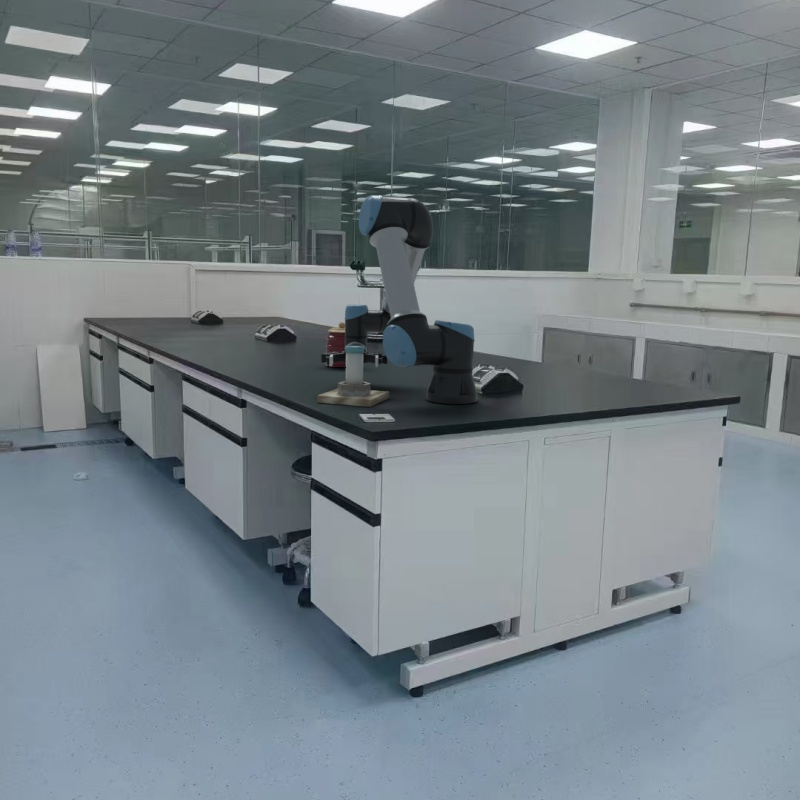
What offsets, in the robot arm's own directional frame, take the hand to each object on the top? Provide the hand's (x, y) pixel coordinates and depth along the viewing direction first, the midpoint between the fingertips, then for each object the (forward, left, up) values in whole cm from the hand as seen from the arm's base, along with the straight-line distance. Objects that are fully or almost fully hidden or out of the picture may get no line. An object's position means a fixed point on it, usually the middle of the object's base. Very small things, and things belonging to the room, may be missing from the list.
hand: (353, 361), depth 209 cm
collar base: (-2, +5, -11) cm, 12 cm away
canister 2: (-2, +5, -9) cm, 10 cm away
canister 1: (+32, -68, -11) cm, 76 cm away
